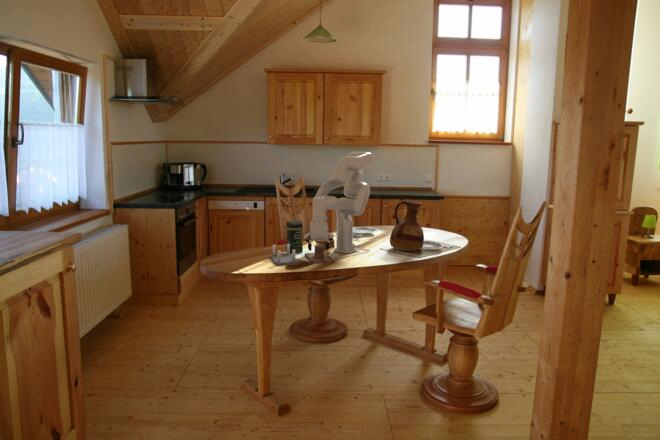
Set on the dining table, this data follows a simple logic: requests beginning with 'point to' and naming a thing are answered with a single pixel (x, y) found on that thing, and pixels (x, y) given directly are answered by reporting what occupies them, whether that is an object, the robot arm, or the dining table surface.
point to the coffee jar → (294, 236)
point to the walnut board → (319, 255)
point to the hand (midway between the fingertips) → (318, 250)
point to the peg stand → (284, 257)
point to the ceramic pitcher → (407, 229)
